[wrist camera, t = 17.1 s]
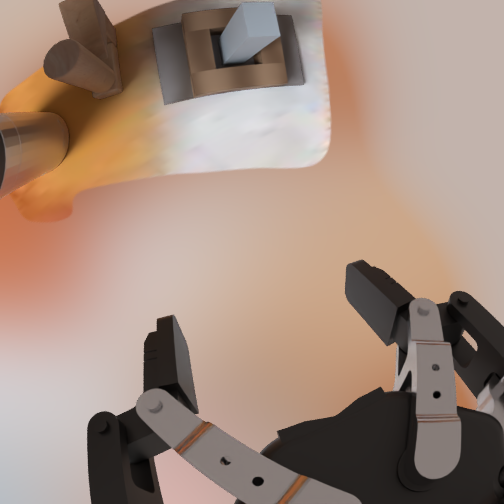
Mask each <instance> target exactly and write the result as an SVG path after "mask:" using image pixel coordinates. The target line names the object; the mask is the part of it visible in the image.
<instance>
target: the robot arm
mask: <svg viewBox="0 0 504 504" xmlns="http://www.w3.org/2000/svg"><path fill="white" fill-rule="evenodd" d="M68 145H69V132H68V128H67V125H66V123H65V122H64V120H63V119H62V118H61V117H60V116H59V115H57V114H55V113H52V112H15V113H0V199H1V198H2V197H4V196H6V195H8V194H9V193H11V192H13V191H14V190H16V189H18V188H20V187H21V186H23V185H25V184H27V183H29V182H30V181H32V180H34V179H36V178H38V177H40V176H42V175H44V174H46V173H48V172H50V171H52V170H53V169H55V168H56V167H57V166H58V165H59V164H60V163H61V162H62V160H63V159H64V157H65V155H66V152H67V150H68ZM345 294H346V297H347V300H348V301H349V303H350V304H351V305H352V306H353V307H354V309H355V310H356V311H357V312H358V313H359V314H360V315H361V317H362V318H363V319H364V320H365V321H366V322H367V323H368V325H369V326H370V327H371V328H372V329H373V330H374V332H375V333H376V334H377V335H378V336H379V338H380V339H381V340H382V341H383V342H384V343H385V344H386V346H388V345H391V344H392V343H394V342H396V343H397V350H396V373H395V384H394V388H393V391H391V392H384V391H383V389H382V388H381V387H379V388H377V389H376V390H373V391H372V392H370V393H368V394H366V395H364V396H362V397H360V398H358V399H357V400H355V401H354V402H353V403H352V404H351V405H349V406H348V407H347V408H345V409H344V410H343V411H342V412H340V413H339V414H338V415H336V416H334V417H328V418H323V419H317V420H310V421H304V422H302V423H299V424H296V425H294V426H291V427H288V428H285V429H282V430H279V431H277V433H278V438H277V439H275V440H274V441H272V442H271V443H270V444H268V445H267V446H266V447H265V448H264V449H263V450H262V451H261V452H260V453H258V452H256V451H254V450H252V449H251V448H249V447H247V446H246V445H244V444H243V443H241V442H240V441H238V440H236V439H235V438H233V437H231V436H230V435H229V434H227V433H226V432H224V431H223V430H221V429H220V428H218V427H217V426H215V425H213V424H212V423H210V422H205V421H203V420H202V419H200V418H199V417H197V416H196V415H195V414H198V413H199V412H198V406H197V400H196V395H195V390H194V383H193V377H192V371H191V364H190V357H189V351H188V346H187V343H186V340H185V338H184V336H183V334H182V331H181V329H180V327H179V324H178V322H177V320H176V318H175V316H174V315H170V316H166V317H162V318H158V319H157V331H155V332H151V333H149V334H148V336H147V338H146V340H145V342H144V392H143V394H142V395H141V396H140V397H139V398H138V400H137V403H136V406H135V407H134V408H132V409H131V410H129V411H126V412H124V413H122V414H120V415H118V416H115V415H114V414H112V413H110V412H105V411H104V412H99V413H97V414H95V415H94V416H93V417H92V418H91V419H90V421H89V423H88V428H87V429H88V430H87V451H88V474H89V485H90V496H91V504H164V503H163V499H162V495H161V491H160V486H159V482H158V477H157V472H156V467H155V462H154V456H156V455H158V454H160V453H162V452H164V451H166V450H168V449H171V448H173V449H174V450H175V451H176V452H177V453H178V454H179V455H180V456H181V457H183V458H184V459H185V460H186V461H187V462H189V463H190V464H191V465H192V466H194V467H195V468H196V469H197V470H198V471H200V472H201V473H202V474H204V475H205V476H206V477H208V478H209V479H210V480H212V481H213V482H215V483H216V484H217V485H219V486H220V487H221V488H223V489H224V490H226V491H227V492H229V493H231V494H232V495H233V496H235V497H236V498H237V500H236V501H235V503H234V504H504V327H503V326H502V325H501V324H500V323H499V322H498V321H497V320H496V319H495V318H494V317H493V316H492V315H491V314H490V313H489V312H488V311H487V310H486V309H485V308H484V307H483V306H482V305H481V304H480V303H478V302H477V301H476V300H475V299H474V298H473V297H472V296H471V295H469V294H468V293H466V292H462V291H456V292H453V293H452V294H451V296H450V298H449V301H448V302H446V303H441V304H435V303H434V302H433V301H431V300H429V299H426V298H417V299H416V298H414V297H413V296H412V295H411V294H410V293H409V292H407V290H405V289H404V288H403V287H402V286H401V285H400V284H399V283H396V281H395V280H394V279H393V278H390V276H389V275H388V274H387V273H386V272H385V271H383V270H381V269H379V268H376V267H371V266H370V265H369V264H368V263H366V262H365V261H364V260H359V261H356V262H353V263H350V264H348V265H347V267H346V282H345ZM464 330H466V331H467V332H468V333H469V335H471V337H472V338H473V339H474V340H475V341H476V343H477V346H478V349H477V352H476V351H475V350H474V348H473V347H472V346H471V345H470V344H469V343H468V342H467V341H466V339H465V338H464V337H463V336H462V334H463V332H464ZM454 370H455V371H456V372H457V374H458V375H459V376H460V377H461V379H462V380H463V381H464V383H465V384H466V385H467V387H468V388H469V389H470V390H471V392H472V393H473V394H474V396H475V397H476V399H477V404H478V407H477V408H476V410H471V409H467V408H463V407H459V406H457V404H456V386H455V376H454Z"/></svg>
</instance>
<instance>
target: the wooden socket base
mask: <svg viewBox="0 0 504 504" xmlns="http://www.w3.org/2000/svg"><path fill="white" fill-rule="evenodd" d="M237 9H238V8H224V9H214V10H205V11H197V12H190V13H184V14H182V20H181V23H177V24H172V25H167V26H162V27H158V28H153V29H152V32H153V39H154V46H155V53H156V59H157V65H158V72H159V77H160V83H161V89H162V94H163V100H164V105H167V104H171V103H175V102H180V101H184V100H189V99H194V98H198V97H204V96H209V95H215V94H220V93H227V92H233V91H241V90H248V89H257V88H267V87H279V86H295V85H304V83H303V76H302V70H301V63H300V57H299V52H298V46H297V41H296V35H295V30H294V25H293V20H292V16H291V15H276V17H277V22H278V26H279V31H280V37H278V38H277V39H275V40H274V41H272V42H271V43H270V44H268V45H267V46H266V47H264V48H263V49H261V50H260V51H259V52H257V53H256V54H255V55H253V56H252V57H251V58H250V59H248V60H247V61H246V62H244V63H240V64H232V65H224V66H222V61H221V56H220V51H219V45H218V40H219V38H220V36H221V35H222V33H223V31H224V30H225V28H226V26H227V25H228V23H229V21H230V20H231V18H232V17H233V15H234V13H235V12H236V10H237Z"/></svg>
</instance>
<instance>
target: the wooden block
mask: <svg viewBox="0 0 504 504" xmlns="http://www.w3.org/2000/svg"><path fill="white" fill-rule="evenodd" d="M59 7H60V11H61V14H62V17H63V20H64V23H65V26H66V29H67V32H68V35H69V38H70V39H66V40H63V41H60V42H58V43H57V44H55V45H54V46H53V47H52V48H51V49H50V50H49V51H48V53H47V55H46V57H45V60H44V65H43V67H44V72H45V74H46V75H47V76H48V77H49V78H51V79H54V80H58V81H61V82H64V83H68V84H71V85H74V86H77V87H80V88H83V89H86V90H89V91H92V95H93V97H94V98H97V99H103V98H106V97H109V96H112V95H115V94H118V93H121V92H122V91H123V88H122V82H121V75H120V67H119V59H118V51H117V48H116V47H117V41H116V30H115V28H114V26H113V25H112V23H111V22H110V21H109V19H108V17H107V16H106V14H105V11H104V10H103V8H102V7H101V5H100V4H99V2H98V1H97V0H65V1H63V2H61V3H59Z"/></svg>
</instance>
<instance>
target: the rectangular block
mask: <svg viewBox="0 0 504 504" xmlns="http://www.w3.org/2000/svg"><path fill="white" fill-rule="evenodd" d="M278 37H280V31H279V26H278V22H277V17H276V12H275V8H274V4H273V2H242V3H241V4H240V6H239V7H238V9H237V10H236V12H235V13H234V15H233V17H232V18H231V20H230V21H229V23H228V25H227V26H226V28H225V30H224V31H223V33H222V35H221V36H220V38H219V40H218V45H219V51H220V56H221V61H222V66H224V65H232V64H240V63H244V62H246V61H247V60H248V59H250V58H251V57H252V56H253V55H255V54H256V53H257V52H259V51H260V50H261V49H263V48H264V47H266V46H267V45H268V44H270V43H271V42H272V41H274V40H275V39H277V38H278Z"/></svg>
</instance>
